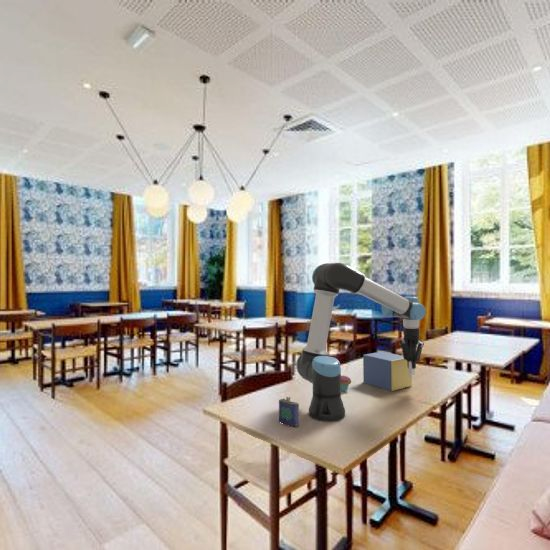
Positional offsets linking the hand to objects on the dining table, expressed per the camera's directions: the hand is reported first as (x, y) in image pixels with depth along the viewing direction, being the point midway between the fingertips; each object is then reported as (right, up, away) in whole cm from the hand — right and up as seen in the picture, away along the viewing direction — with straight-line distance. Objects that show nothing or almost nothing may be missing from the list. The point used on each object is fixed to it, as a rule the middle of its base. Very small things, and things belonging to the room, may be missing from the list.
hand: (411, 374), depth 188 cm
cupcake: (-34, -9, +4) cm, 35 cm away
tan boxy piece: (-8, -8, +12) cm, 17 cm away
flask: (-63, -9, -40) cm, 76 cm away
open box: (-9, -9, +13) cm, 18 cm away
